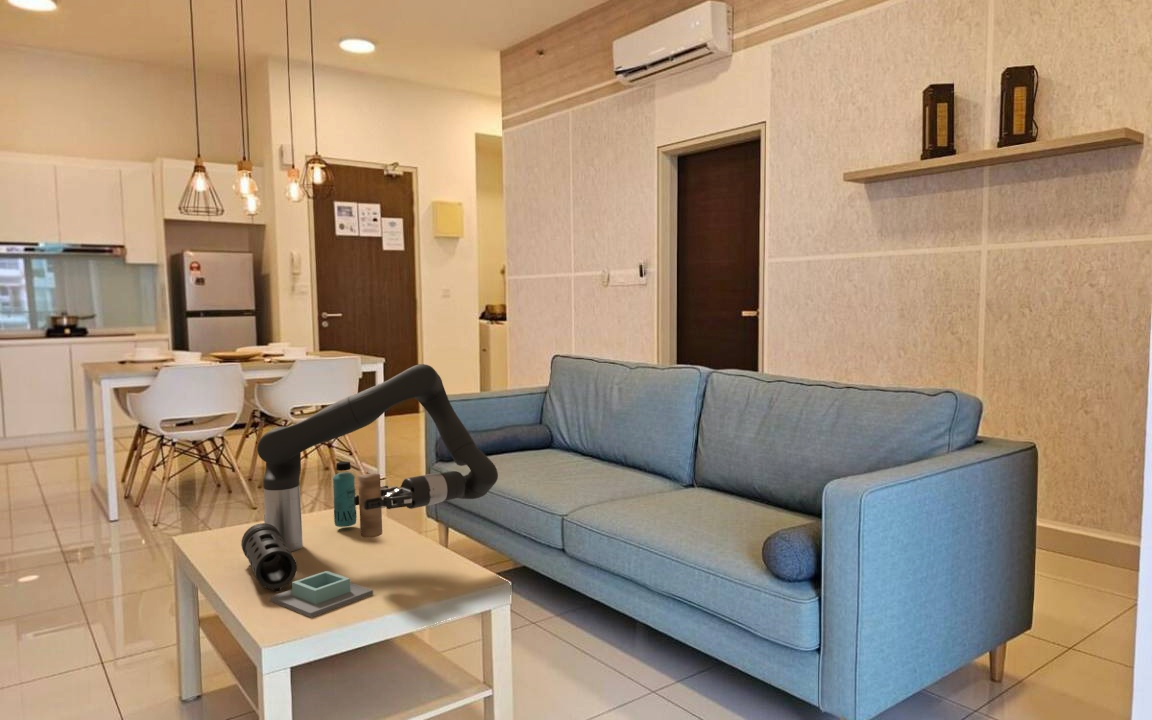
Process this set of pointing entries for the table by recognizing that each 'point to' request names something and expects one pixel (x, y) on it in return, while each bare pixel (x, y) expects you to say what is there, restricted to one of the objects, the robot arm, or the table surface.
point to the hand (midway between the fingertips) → (359, 502)
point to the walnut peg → (371, 517)
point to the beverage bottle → (344, 496)
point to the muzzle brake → (268, 556)
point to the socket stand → (320, 594)
